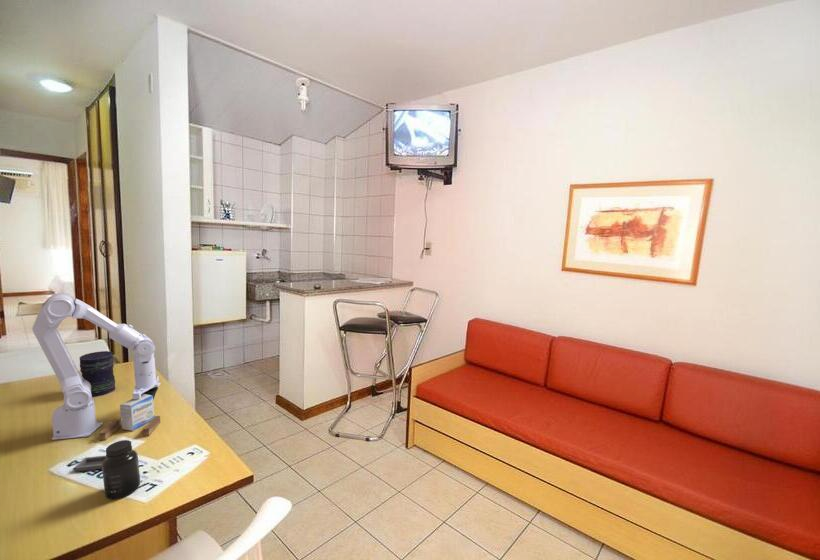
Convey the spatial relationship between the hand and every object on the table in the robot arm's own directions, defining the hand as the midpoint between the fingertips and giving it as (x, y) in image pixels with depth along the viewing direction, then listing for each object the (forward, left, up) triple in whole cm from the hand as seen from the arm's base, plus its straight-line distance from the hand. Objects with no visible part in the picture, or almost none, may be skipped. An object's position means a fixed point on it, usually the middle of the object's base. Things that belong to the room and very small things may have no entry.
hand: (147, 409), depth 123 cm
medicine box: (0, -7, -2) cm, 7 cm away
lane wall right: (+6, -11, -2) cm, 13 cm away
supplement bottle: (+11, -40, -2) cm, 42 cm away
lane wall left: (-6, -11, -2) cm, 13 cm away
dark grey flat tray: (0, -28, -2) cm, 28 cm away
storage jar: (-26, +23, -2) cm, 35 cm away
